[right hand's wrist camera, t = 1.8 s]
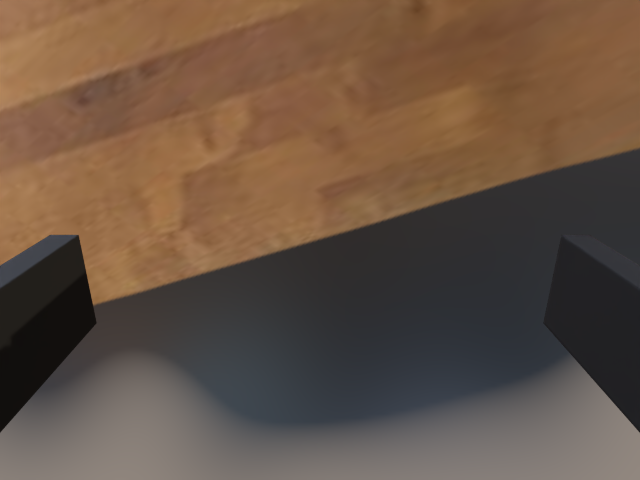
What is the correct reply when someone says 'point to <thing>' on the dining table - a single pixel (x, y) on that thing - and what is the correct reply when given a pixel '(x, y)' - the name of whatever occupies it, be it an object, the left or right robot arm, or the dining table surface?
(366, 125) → the dining table surface
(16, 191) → the dining table surface
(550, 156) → the dining table surface
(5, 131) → the dining table surface
